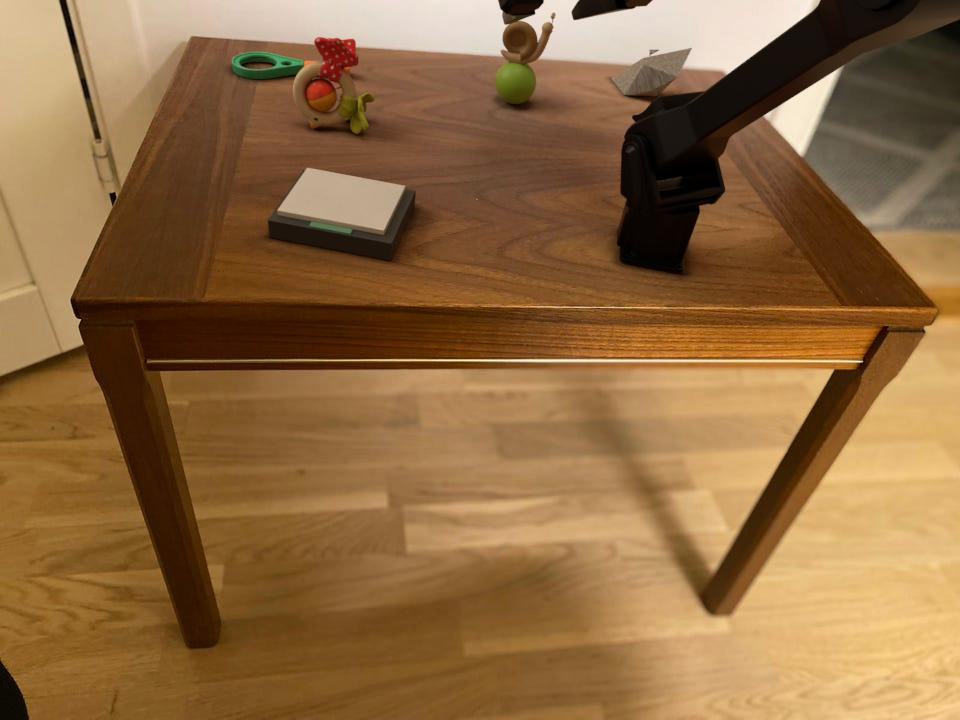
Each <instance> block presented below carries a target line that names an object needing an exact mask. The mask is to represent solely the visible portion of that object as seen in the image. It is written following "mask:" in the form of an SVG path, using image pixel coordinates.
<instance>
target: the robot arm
mask: <svg viewBox="0 0 960 720" xmlns="http://www.w3.org/2000/svg"><path fill="white" fill-rule="evenodd" d="M497 2H498V4H499V10H500V11H502V13H501V17H502V21H503V24H504V25H505V26H508V25H509V24H511V23H514V22H516V21H523V20H524V19H527V18H530V17H532V16H535V15H536V11H537V10H539V9H540V8H541V7H542V5H543V4H544V3H545V0H497ZM652 2H653V0H577V2H576V3H575V4H574V6H573V8H572V10H571V17H572V20H573V21H579V20H584V19H589V18H593V17H599V16H602V15H607V14H608V15H609V14H613V13H617V12H623V11H628V10H633V9H635V8H637V7H638V8H639V7H648V5H649V4H650V3H652ZM959 20H960V0H819V2H818V4H817V5H816V7H815V8H813V10H812V11H811V12H809V13H807V14H806V15H805V16H804V17H802V18H801V19H800V20H799V21H797V22H796V23H794V24H792V26H791V27H789V28H788V29H786V30H785V31H783V32H782V33H781V34H780V35H778V36H777V37H775V38H774V39H773V40H771V41H770V42H768V44H766V45H765V46H763V47H762V48H761V49H759V50H758V51H757V52H755V53H754V54H753V55H751V56H750V57H749V58H747V59H746V60H744V61H743V62H742V63H740V64H739V65H738V66H737V67H735V68H734V69H733V70H731V71H730V72H728V73H727V74H726V75H724V76H723V77H722V78H721V79H719V80H718V81H716V82H715V83H714V84H712V85H711V86H710V87H708V88H707V89H706V90H701V91H693V92H685V93H675V94H667V95H659V96H657V97H656V98H655V99H653V100H652V101H651V103H649V105H648V106H647V107H646V108H645V109H644V110H643V111H642V112H640V113H637V114H632V116H631V119H632V121H634V122H633V123H632V124H630V126H629V127H628V128H627V129H626V131H625V133H624V135H623V136H624V137H623V138H624V141H623V142H622V146H621V151H620V154H621V155H620V183H619V184H620V187H619V188H620V189H619V190H620V191H619V193H620V195H621V196H622V197H623V198H625V202H624V206H623V210H622V214H621V217H620V221H619V224H618V226H617V227H618V228H617V231H616V246H617V247H618V248H619V261H620V262H621V263H624V264H630V265H635V266H639V267H646V268H651V269H656V270H660V271H661V270H662V271H666V272H672V273H677V274H682V273H683V272H684V270H685V254H686V251H687V249H688V247H689V244H690V241H691V238H692V236H693V233H694V231H695V226H696V225H697V223H698V219H699V216H700V213H701V209H700V207H701V206H705V205H715V204H717V202H718V201H719V200H720V199H721V198H722V196H723V195H724V194H725V192H726V186H725V182H724V178H723V177H724V176H723V174H722V168H721V165H720V161H719V158H720V157H721V156H722V155H724V153H725V151H726V149H727V147H728V143H729V140H730V138H731V137H732V136H734V135H735V134H737V133H738V132H740V131H742V130H744V129H745V128H746V127H748V126H750V125H751V124H753V123H754V122H756V121H758V120H759V119H761V118H763V117H765V116H766V115H767V114H769V113H770V112H772V111H773V110H775V109H776V108H778V107H780V106H782V105H783V104H785V103H786V102H788V101H789V100H791V99H792V98H795V97H796V96H797V95H799V94H800V93H802V92H804V91H805V90H807V89H808V88H810V87H812V86H814V85H815V84H816V83H818V82H820V81H821V80H822V79H824V78H826V77H828V76H829V75H831V74H832V73H834V72H836V71H837V70H839V69H841V68H842V67H844V66H845V65H847V64H848V63H851V61H853V60H855V59H856V58H858V57H860V56H861V55H864V54H866V53H869V52H872V51H875V50H878V49H881V48H884V47H888V46H891V45H894V44H897V43H901V42H904V41H906V40H910V39H913V38H916V37H919V36H922V35H924V34H926V33H929V32H931V31H933V30H937V29H939V28H941V27H944V26H946V25H949V24H951V23H954V22H956V21H959Z"/></svg>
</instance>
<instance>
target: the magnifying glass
mask: <svg viewBox="0 0 960 720" xmlns="http://www.w3.org/2000/svg"><path fill="white" fill-rule="evenodd" d="M315 61H316V60H303V59H298V58H295V57H290V56H286V55H281V54H277V53H273V52H267V51H248V52H242V53H240V54H236V55H234V56H233V57H232V58H231V67H232V71H233V72H234V74H236V75H238V76H240V77H243V78H246V79H253V80H267V79H274V78H281V77H287V76H293V75H297V74H298V73H299V71H300V70H301V69H302V68H303V67H304V66H306V65H307V64H309V63H312V62H315ZM250 62H266V63H267V62H268V63H271V64H274V66H272V67H269V68H261V69H256V68H255V69H253V68H247V67H245V66H242V65H244V64H246V63H250ZM344 69H345V70H346V71H347V72H348V74H349V75H350V74H351V67H346V68H344ZM350 76H351V75H350Z"/></svg>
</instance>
